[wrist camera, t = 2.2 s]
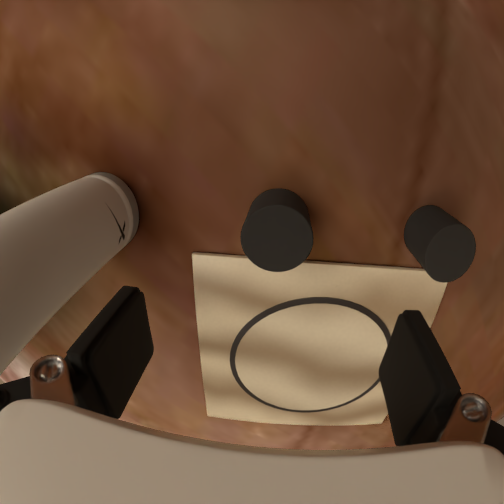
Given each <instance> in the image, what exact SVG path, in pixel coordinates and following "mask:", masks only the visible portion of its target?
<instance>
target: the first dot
mask: <svg viewBox="0 0 504 504" xmlns="http://www.w3.org/2000/svg"><path fill="white" fill-rule="evenodd" d="M241 244H242V248H243V251H244V253H245V254H246V256H247V257H248V259H249V260H250V261H251V262H252V263H253V264H255V265H256V266H258V267H259V268H261V269H264V270H267V271H271V272H284V271H289V270H291V269H294V268H296V267H297V266H299V265H300V264H302V263H303V262H304V261H305V260H306V259H307V257H308V256H309V254H310V252H311V249H312V246H313V231H312V227H311V222H310V217H309V213H308V209H307V206H306V204H305V203H304V201H303V200H302V199H301V198H300V197H299V196H298V195H297V194H295V193H294V192H292V191H289V190H286V189H271V190H267V191H265V192H263V193H261V194H260V195H259V196H258V197H257V198H256V199H255V200H254V201H253V203H252V205H251V207H250V210H249V212H248V215H247V217H246V220H245V222H244V225H243V227H242V231H241Z"/></svg>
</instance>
